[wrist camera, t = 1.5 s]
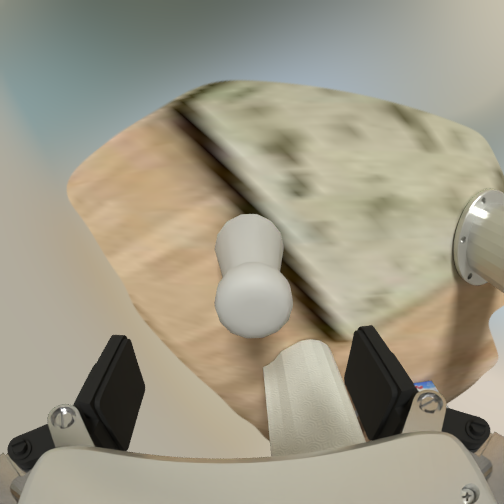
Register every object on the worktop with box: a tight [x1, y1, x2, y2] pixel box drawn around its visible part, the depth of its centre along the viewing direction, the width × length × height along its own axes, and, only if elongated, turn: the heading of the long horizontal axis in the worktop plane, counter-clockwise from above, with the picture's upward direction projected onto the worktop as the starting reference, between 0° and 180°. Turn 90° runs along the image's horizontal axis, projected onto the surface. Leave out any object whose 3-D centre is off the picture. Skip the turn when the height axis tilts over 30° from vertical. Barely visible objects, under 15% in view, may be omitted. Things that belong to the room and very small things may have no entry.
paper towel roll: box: [263, 339, 366, 457], centre depth 22 cm, size 7×6×21 cm
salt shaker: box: [215, 214, 293, 338], centre depth 21 cm, size 6×6×13 cm
